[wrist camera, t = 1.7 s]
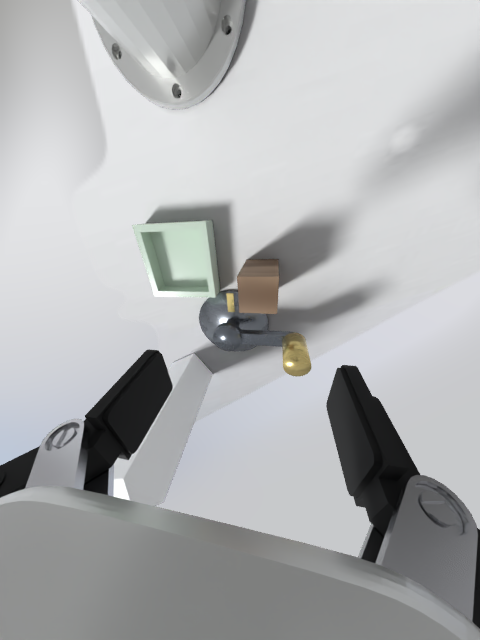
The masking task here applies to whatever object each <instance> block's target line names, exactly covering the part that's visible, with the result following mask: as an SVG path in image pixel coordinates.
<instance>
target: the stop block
mask: <svg viewBox="0 0 480 640" xmlns="http://www.w3.org/2000/svg"><path fill="white" fill-rule="evenodd" d="M237 283H238V299H239V313H262V314H277V304H278V287H279V264H278V259H255V260H246V262H245V264H244V265H243V267H242V269H241V271H240V272H239V274H238V276H237Z"/></svg>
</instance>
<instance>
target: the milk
mask: <svg viewBox="0 0 480 640" xmlns="http://www.w3.org/2000/svg"><path fill="white" fill-rule="evenodd" d="M168 373H169V376H170V379H171V382H172V385H173V388H172V391H171V393H170V395H169V396H168V398H167V400H166V402H165V403H164V405H163V407H162V408H161V410H160V412H159V414H158V415H157V417H156V419H155V420H154V422H153V424H152V426H151V427H150V429H149V431H148V432H147V434H146V436H145V438H144V439H143V441H142V443H141V444H140V446H139V448H138V449H137V451H136V452H135V453H134V454H132V455H131V457H130V459H129V460H125V459H120V458H117V460H116V461H115V463H114V497H117V498H122V499H126V500H130V501H134V502H138V503H143V504H147V505H151V506H156V505H159V504H161V503H163V502H164V501H165V498H166V495H167V493H168V490H169V488H170V485H171V482H172V480H173V477H174V475H175V472H176V469H177V467H178V464H179V462H180V459H181V456H182V454H183V451H184V448H185V446H186V443H187V441H188V438H189V435H190V433H191V430H192V427H193V425H194V422H195V420H196V417H197V414H198V412H199V409H200V406H201V404H202V401H203V399H204V396H205V393H206V391H207V388H208V385H209V383H210V380H211V378H212V375H213V373H212V372H211V371H210V370H209V369H208V368H207V367H206V365H205V364H204V363H203V362H202V361H201V360H200V359H199V358H198V357H197V356H196V354H195V353H193V354H191V355H189V356H187V357H184V358H182V359H180V360H177V361H175V362H173V363H172V365H171V366H170V368H169V369H168Z"/></svg>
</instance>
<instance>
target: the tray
mask: <svg viewBox="0 0 480 640" xmlns="http://www.w3.org/2000/svg"><path fill="white" fill-rule="evenodd" d="M132 227H133V230H134V233H135V236H136V239H137V242H138V246H139V249H140V252H141V255H142V258H143V261H144V264H145V268H146V271H147V274H148V277H149V280H150V283H151V286H152V290H153V293H154V296H162V297H210V298H216V296H217V295H218V293H219V292H220V283H219V274H218V265H217V257H216V248H215V239H214V231H213V222H212V220H202V221H184V222H166V223H147V224H137V225H132Z"/></svg>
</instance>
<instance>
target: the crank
mask: <svg viewBox="0 0 480 640" xmlns="http://www.w3.org/2000/svg"><path fill="white" fill-rule="evenodd" d="M213 340H214V343H215V344H216V345H217V346H218V347H219V348H221V349H223V350H226V351H233V350H236V349H237V348H239V346H240V345H241V344H249V345H265V346H281V347H282V350H283V368H284V370H285V372H286V373H288V374H289V375H292V376H303V375H305V374H307V373H308V372H309V371H310V370H311V362H310V358H309V353H308V349H307V345H306V340H305V338H304V336H303V335H301V334H299V333H294V332H282V331H262V330H242V329H240V328H239V327H238V326H237V325H236V324H233V323H230V322H225V323H222V324H220V325H219V326H218V327H217V328H216V331H215V333H214V335H213Z"/></svg>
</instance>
